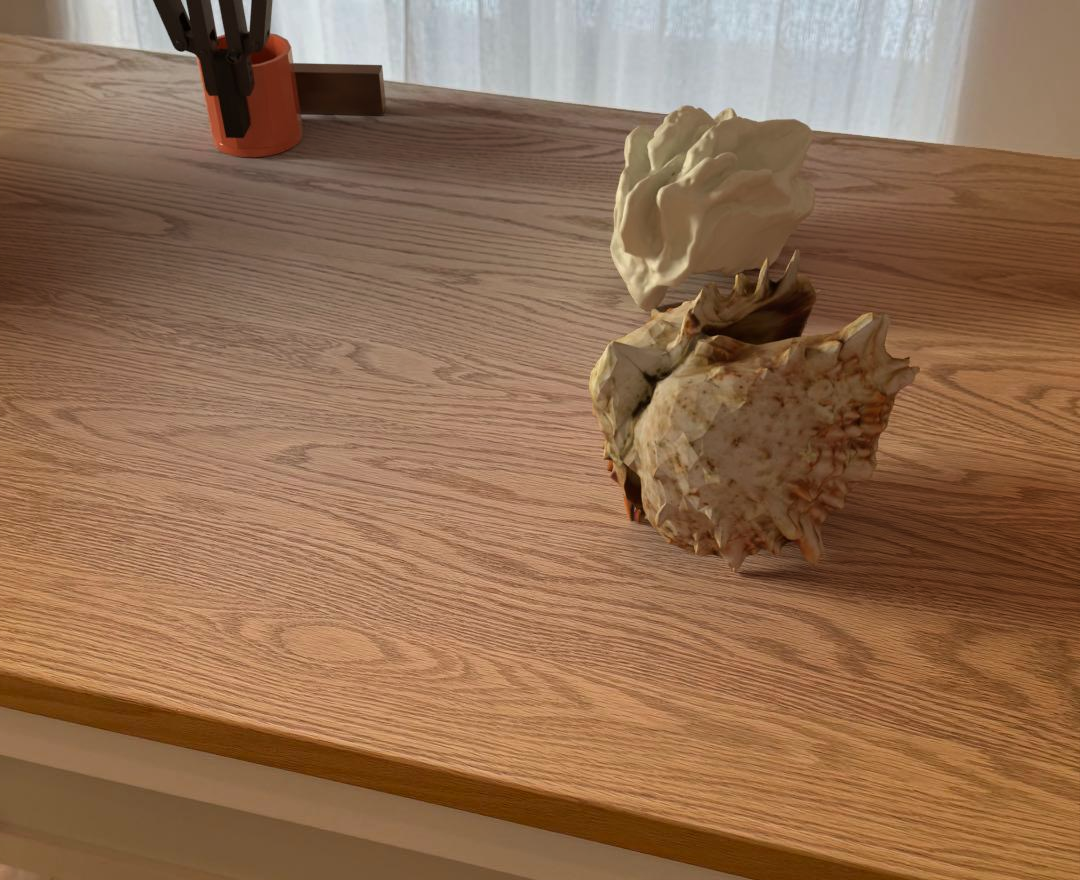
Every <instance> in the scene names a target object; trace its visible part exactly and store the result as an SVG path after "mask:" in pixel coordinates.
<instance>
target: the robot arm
mask: <svg viewBox="0 0 1080 880" xmlns="http://www.w3.org/2000/svg"><path fill="white" fill-rule="evenodd" d="M217 1H218V6H219V11H220V17H221V23H222V26H223V28H222V29H223V32H224V34H225V39H226V44H227V49H219V50H218V49H217V46H218V44H219V42H220V38H219V39H218V38H217V37H218V33H217V28H216V22H215V16H214V12H213V7H212V6H213V5H212V0H185V2H186V8H187V10H186V8H185V6H184V3H183V1H182V0H152V2H153V4H154V6H155V9H156V11H157V13H158V15H159V18H160V19H161V22H162V24H163V26H164V29H165V31H166V33H167V35H168V38H169V40H170V42H171V44H172V46H173V48H174V49H175V50H176V51H177V52H179V53H184V52H188V53H190V54H193V55H195V57H196V56H197V57H198V58H199V60H200V64H201V69H202V74H203V79H204V84H205V89H206V91H207V93H208V95H209V96H218V99H219V104H220V109H221V114H222V120H223V125H224V130H225V135H226V138H244V136H245V135H246V133H247V131H248V129H249V127H250V125H251V122H250V116H249V110H248V105H247V99H246V96H250V95H251V93H252V91H253V89H254V85H255V81H254V75H253V69H252V63H251V57H250V54H251V53H254V52H256V53H259V52H261V51H262V50H263V48H264V46H265V45H266V43H267V41H268V39H269V37H270V33H271V26H272V13H273V1H274V0H250V1H251V3H250V15H249V30H248V23H247V18H246V14H245V13H246V12H245V9H244V3H243V2H244V1H243V0H217ZM187 12H188V13H187ZM248 31H249V33H248Z"/></svg>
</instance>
